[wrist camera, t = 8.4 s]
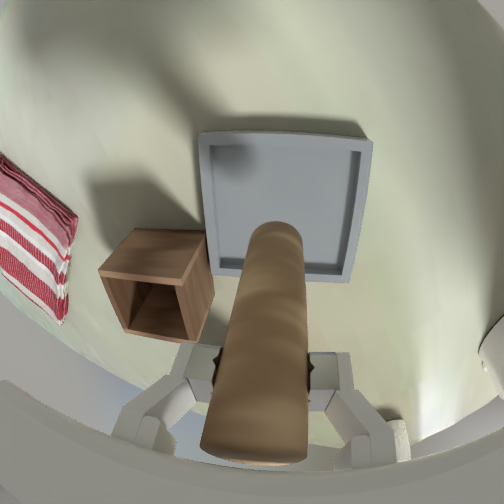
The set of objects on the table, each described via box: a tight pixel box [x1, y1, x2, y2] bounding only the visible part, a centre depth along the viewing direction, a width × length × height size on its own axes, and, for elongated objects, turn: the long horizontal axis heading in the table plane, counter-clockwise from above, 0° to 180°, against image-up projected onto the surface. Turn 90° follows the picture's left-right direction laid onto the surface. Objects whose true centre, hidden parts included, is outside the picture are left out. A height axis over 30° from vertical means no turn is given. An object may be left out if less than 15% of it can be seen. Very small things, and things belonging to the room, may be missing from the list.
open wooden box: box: [98, 228, 215, 343], centre depth 23 cm, size 7×7×7 cm
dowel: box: [200, 221, 308, 466], centre depth 11 cm, size 3×3×12 cm
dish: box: [197, 131, 373, 283], centre depth 21 cm, size 12×12×1 cm
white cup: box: [387, 419, 411, 462], centre depth 39 cm, size 8×8×10 cm
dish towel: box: [0, 156, 78, 325], centre depth 28 cm, size 17×23×3 cm
